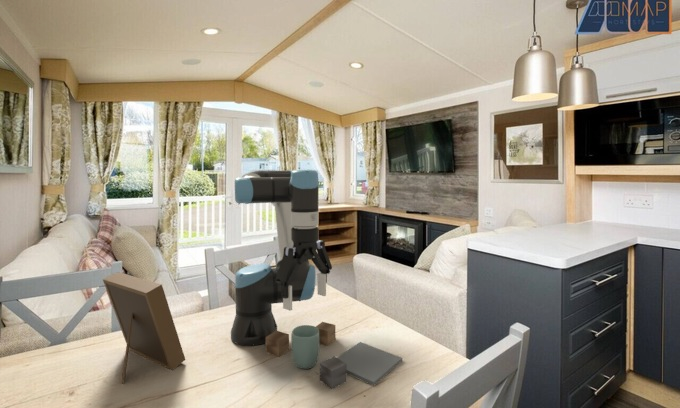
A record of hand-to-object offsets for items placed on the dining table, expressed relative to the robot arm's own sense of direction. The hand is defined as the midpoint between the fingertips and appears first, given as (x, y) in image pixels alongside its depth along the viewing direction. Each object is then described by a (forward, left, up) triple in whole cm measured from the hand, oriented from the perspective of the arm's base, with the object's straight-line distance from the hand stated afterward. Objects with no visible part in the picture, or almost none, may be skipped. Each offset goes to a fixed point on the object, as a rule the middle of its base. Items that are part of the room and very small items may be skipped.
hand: (305, 301), depth 97 cm
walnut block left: (-5, +14, -19) cm, 24 cm away
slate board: (+13, +11, -18) cm, 25 cm away
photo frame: (-37, -30, -19) cm, 51 cm away
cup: (0, 0, -19) cm, 19 cm away
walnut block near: (-12, 0, -19) cm, 22 cm away
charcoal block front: (+11, -1, -19) cm, 22 cm away
